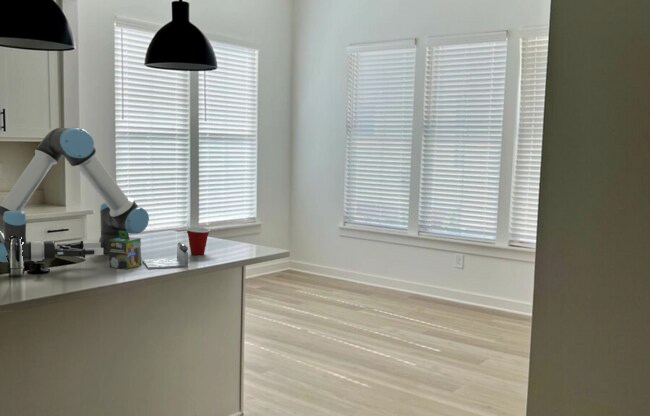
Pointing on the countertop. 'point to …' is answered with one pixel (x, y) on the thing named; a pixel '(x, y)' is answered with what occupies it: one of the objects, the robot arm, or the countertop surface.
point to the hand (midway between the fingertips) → (101, 248)
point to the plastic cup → (197, 239)
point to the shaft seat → (170, 259)
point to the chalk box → (125, 251)
